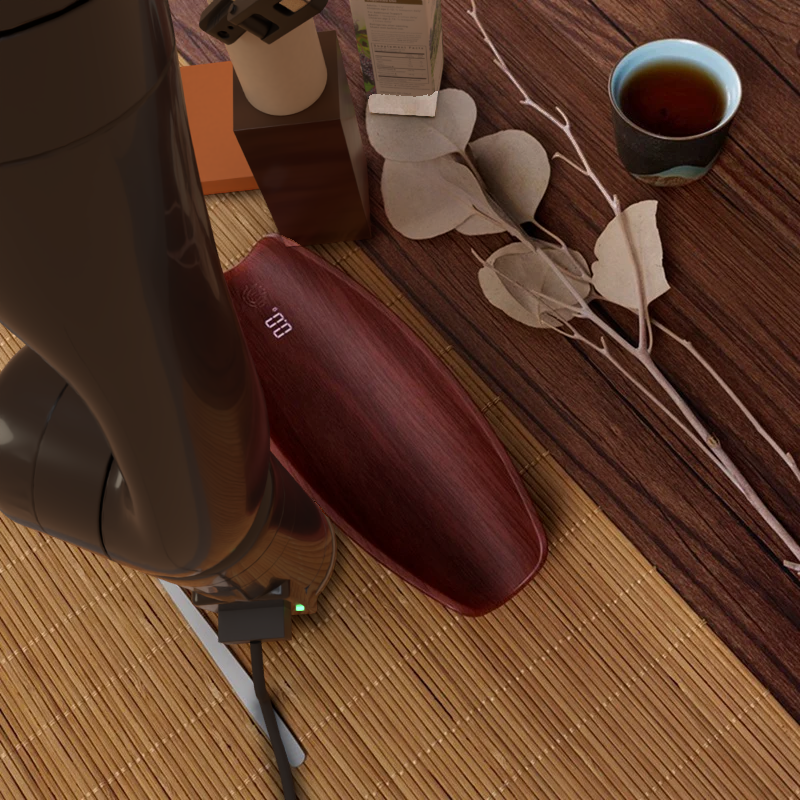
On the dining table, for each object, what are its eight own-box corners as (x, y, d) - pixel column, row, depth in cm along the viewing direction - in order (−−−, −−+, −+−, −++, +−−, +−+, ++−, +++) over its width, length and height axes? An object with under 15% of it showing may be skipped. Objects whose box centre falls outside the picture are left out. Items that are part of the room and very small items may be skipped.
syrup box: (379, 59, 79) (355, -77, 66) (447, 62, 79) (437, -74, 65) (369, 115, 78) (342, -12, 64) (438, 119, 77) (426, -8, 63)
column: (371, 239, 74) (340, 118, 59) (285, 247, 75) (232, 131, 59) (367, 163, 76) (335, 29, 61) (283, 172, 77) (232, 42, 62)
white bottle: (329, 110, 59) (289, -31, 48) (243, 120, 60) (184, -18, 48) (325, 39, 61) (287, -114, 50) (242, 49, 61) (185, -100, 50)
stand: (275, 187, 76) (270, 174, 75) (139, 202, 77) (130, 189, 75) (273, 71, 80) (267, 55, 78) (143, 86, 81) (134, 71, 79)
